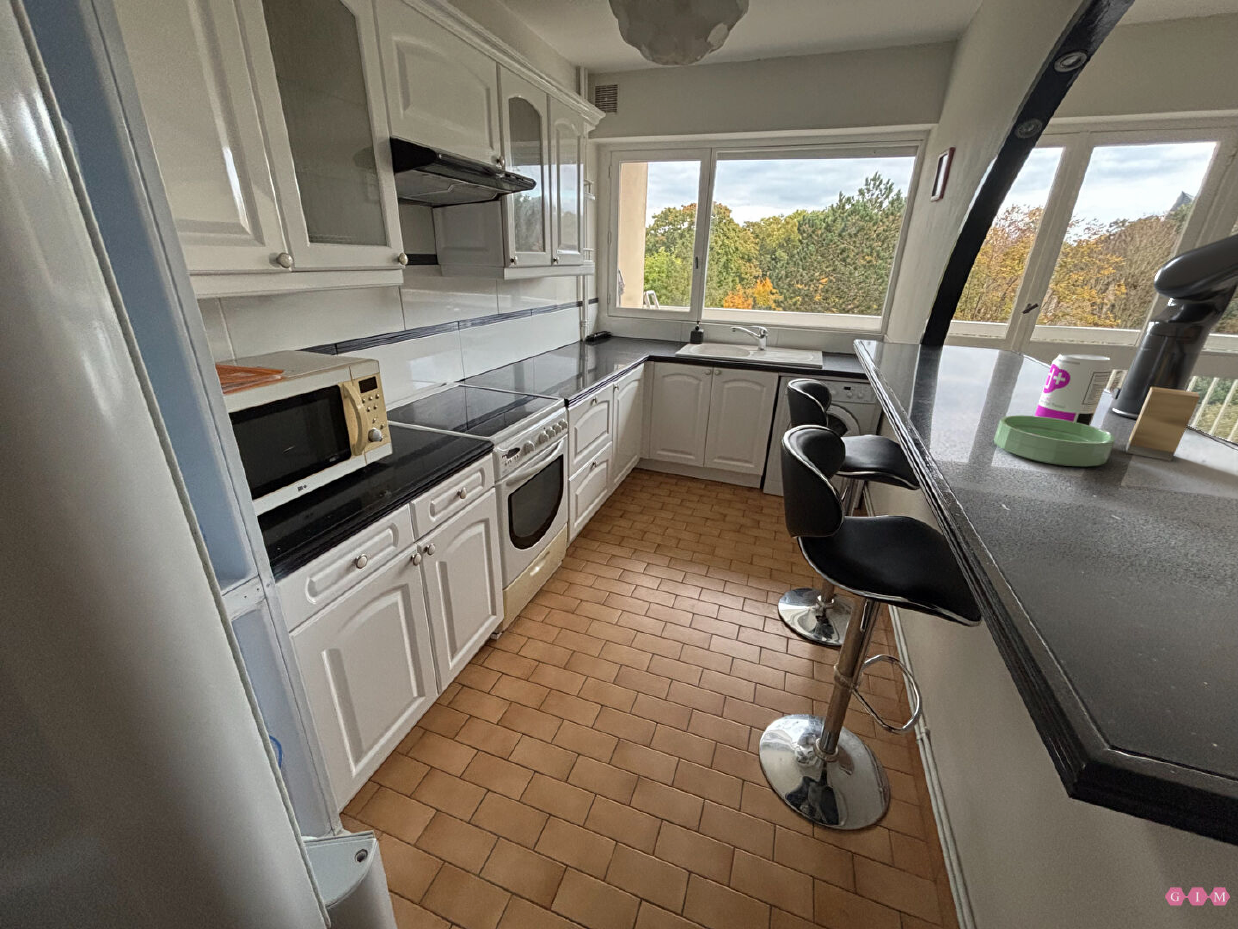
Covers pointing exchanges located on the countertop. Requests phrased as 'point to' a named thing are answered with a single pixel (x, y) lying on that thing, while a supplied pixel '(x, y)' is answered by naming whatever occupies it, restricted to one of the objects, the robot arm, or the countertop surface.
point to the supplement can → (1074, 387)
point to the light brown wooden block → (1162, 423)
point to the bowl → (1054, 440)
